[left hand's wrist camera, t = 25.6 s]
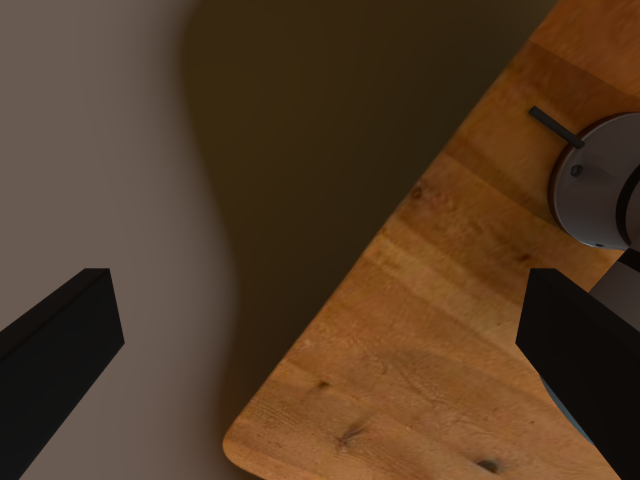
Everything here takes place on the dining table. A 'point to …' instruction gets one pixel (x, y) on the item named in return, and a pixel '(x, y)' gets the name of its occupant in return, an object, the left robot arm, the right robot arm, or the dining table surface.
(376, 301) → the dining table surface
